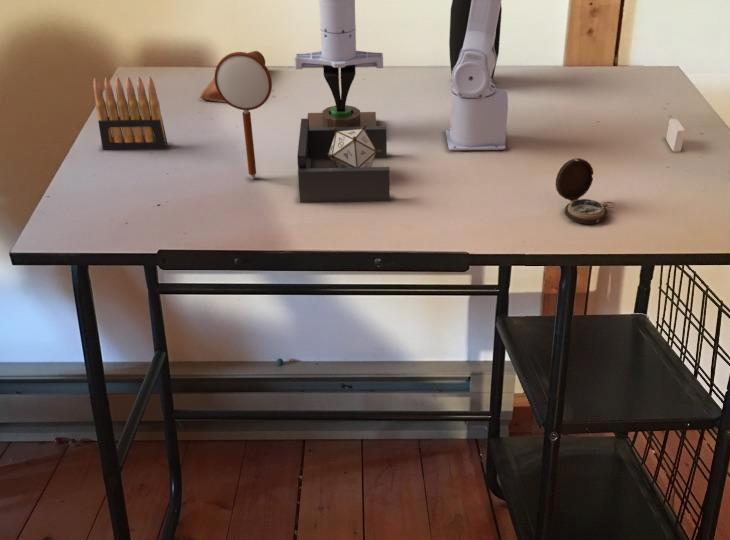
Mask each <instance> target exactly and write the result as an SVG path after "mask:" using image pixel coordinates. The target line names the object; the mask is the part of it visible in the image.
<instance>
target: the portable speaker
mask: <svg viewBox="0 0 730 540" xmlns="http://www.w3.org/2000/svg"><path fill="white" fill-rule="evenodd" d="M471 2H472V0H452V1H451V4H450V13H449V14H450V15H449V16H450V17H449V36H448V37H449V39H448V41H449V42H448V46H449V64H450V73H451V76H452V71H453V69H454V67H455V65H456V64H457V61H458V58H459V54H460V51H461V49H462V48H463V44H464V40H465V35H466V31H467V25H468V19H469V13H470V8H471ZM502 10H503V8H502V5H501V6H500V11H499V16H498V21H497V27H496V35H495V41H494V49H495V53H496V57H497V59H498V58H499V54H500V41H501V40H500V39H501V28H502V27H501V26H502V25H501V24H502V12H503V11H502ZM497 62H498V60H497V61H496V64H497ZM496 67H497V65H496V66H495V68H494V70H493V73H492V76H491V79H492V81H493V80H494V76H495V71H496ZM493 82H494V81H493Z"/></svg>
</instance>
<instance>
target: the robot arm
mask: <svg viewBox="0 0 730 540" xmlns="http://www.w3.org/2000/svg"><path fill="white" fill-rule="evenodd" d="M318 3H319V4H318V5H319V7H318V8H319V25H320V27H319V28H320V46H321V48H320V49H321V51H320V50H319V51H313V52H306V53H295V55H294V64H295V65H294V67H295V70H303V69H316V68H317V69H318V68H319V69H321V68H323V69H322V71H323V78H324V79H325V82H326V83H327V86H328V87H329V90H330V92H331V93H332V96H333V97H332V98H333V100H334V102H335V103H334V104H335V106H336V108H337V111H345V105H347V99H348V95H349V91H350V88H351V86H352V84H353V82H354V80H355V76H356V68H376V69H383V68H384V53H383V52H372V51H364V50H357V30H356V29H357V28H356V0H318ZM500 6H501V7H502V0H472V2H471V8H470V13H469V19H468V25H467V31H466V35H465V40H464V44H463V48H462V49H461V51H460V54H459V58H458V61H457V64H456V65H455V67H454V69H453V71H452V75H451V83H452V84H451V91H450V92H451V93H450V94H451V95H450V117H449V119H450V120H449V128H447V129H445V136H446V142H447V146H448V150H449V151H503V150H506V137H507V128H508V127H507V125H508V111H509V97H508V91H507V89H505V88H497V87H496V84H495V83H494V81H492V79H491V76H492V73H493V70H494V68H495V69H496V67H497V63H496V61H497V62H498V58H497V57H496V53H495V49H494V41H495V35H496V27H497V21H498V16H499V11H500ZM495 66H496V67H495Z"/></svg>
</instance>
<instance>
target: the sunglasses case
mask: <svg viewBox="0 0 730 540" xmlns="http://www.w3.org/2000/svg"><path fill="white" fill-rule="evenodd" d="M248 53H249V54H252V55H254V56H255V57H257V58H258V59H260V60H261V61H262V62H263V63H264V64H265V65H266V59H265V57H264V55H263V54H262V53H261V52H260V51H258V50H254V51H249V52H248ZM199 97H200V99H202V100H204V101H205V100H206V101H210V102H215V103H222V104H228V103H227V102H225V101H224V100H223V99H222V97H221V96H220V94H219V93H218V91H217V89H216V85H215V79H214V77H213V79H212V80H210V82H209V83H208V84H207V86H206V87H205V88H204V89H203V90H202V92H201V93H200V96H199Z"/></svg>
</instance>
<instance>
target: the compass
mask: <svg viewBox="0 0 730 540" xmlns="http://www.w3.org/2000/svg"><path fill="white" fill-rule="evenodd" d="M593 175H594V169H593V167H592V165H591V163H589V162H588V161H587V160H586V159H583V158H579V157H574V158H571V159H569V160H568V161H566V162H564V164H563V165H562V166H561V167H560V168H559V170H558V172H557V174H556V178H555V190H556V192H557V193H558V195H559V196H560V197H561V198H563V199H565V200H569V201H570V202H569V203H567V204H566V205H565V207H564V215H565V216H566V217H567V219H569V220H570V221H573V222H574V223H578V224H583V225H593V224H598V223H601V222H603V221H604V220H605V219H606V218H607V217H608V210H607V209H613V208H615V207H616V203H615V202H613V201H604V202H603V203H601V202H599V201H597V200H594V199H587V198H582V197H583V196H584V195H585V194H586V193H587V192H588V191H589V189H590V188H591V186H592V183H593V182H594V181H593V180H594V178H593ZM608 203H609V204H612V205H613V206H609V205H608Z"/></svg>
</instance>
